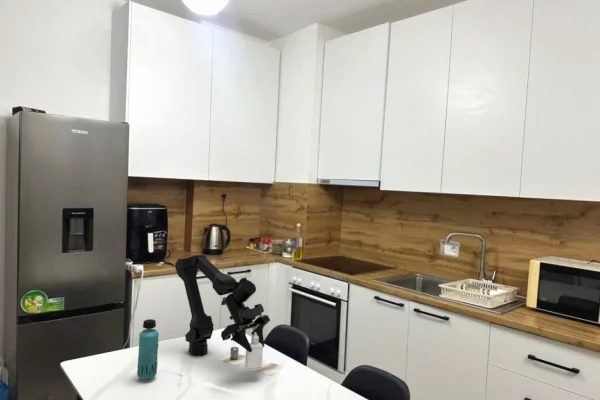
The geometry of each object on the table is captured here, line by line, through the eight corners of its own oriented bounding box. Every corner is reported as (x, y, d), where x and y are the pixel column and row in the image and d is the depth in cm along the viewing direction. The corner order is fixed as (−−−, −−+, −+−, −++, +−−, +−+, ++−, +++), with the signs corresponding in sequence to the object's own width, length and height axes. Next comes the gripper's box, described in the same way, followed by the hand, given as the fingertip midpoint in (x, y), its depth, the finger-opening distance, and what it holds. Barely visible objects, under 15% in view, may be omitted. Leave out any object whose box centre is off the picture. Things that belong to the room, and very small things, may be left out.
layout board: (212, 365, 150) (212, 362, 150) (230, 354, 161) (230, 351, 161) (268, 381, 140) (268, 378, 140) (284, 368, 151) (284, 365, 151)
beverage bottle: (137, 385, 132) (140, 324, 132) (135, 376, 138) (138, 318, 137) (158, 381, 135) (161, 322, 135) (155, 373, 141) (158, 316, 140)
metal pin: (228, 359, 153) (229, 348, 153) (233, 356, 156) (233, 346, 156) (235, 361, 152) (235, 350, 152) (239, 358, 155) (240, 347, 155)
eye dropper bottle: (260, 370, 135) (262, 335, 135) (243, 369, 136) (246, 334, 135) (262, 365, 140) (264, 331, 139) (246, 363, 140) (248, 329, 140)
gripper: (228, 301, 132) (249, 345, 126) (268, 292, 147) (289, 331, 140) (212, 319, 138) (231, 361, 131) (252, 308, 152) (271, 346, 145)
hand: (257, 349), depth 137 cm, fingers closed on eye dropper bottle, 5 cm apart
